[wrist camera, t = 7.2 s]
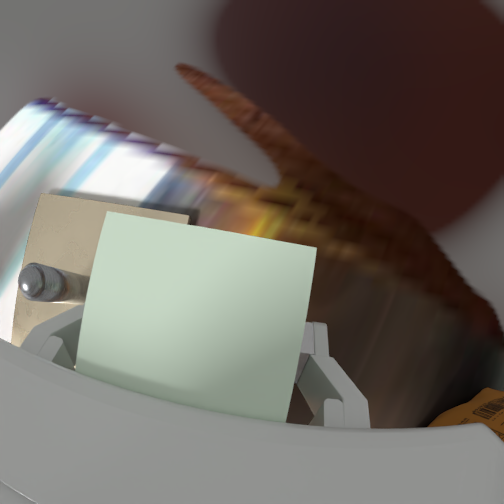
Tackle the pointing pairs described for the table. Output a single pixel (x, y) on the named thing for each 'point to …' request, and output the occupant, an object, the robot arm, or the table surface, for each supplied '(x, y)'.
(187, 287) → the pale green pillar
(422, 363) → the table surface
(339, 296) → the table surface
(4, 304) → the table surface
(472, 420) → the coffee package
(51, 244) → the square base with post
